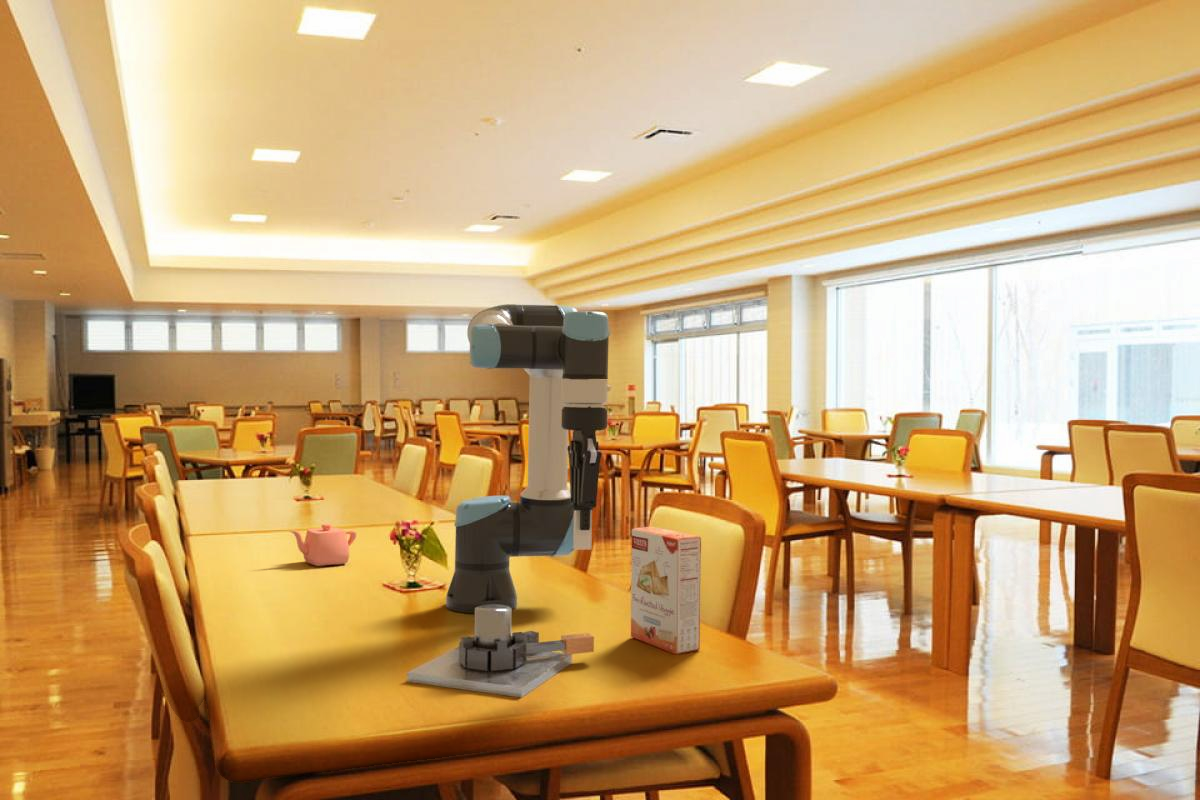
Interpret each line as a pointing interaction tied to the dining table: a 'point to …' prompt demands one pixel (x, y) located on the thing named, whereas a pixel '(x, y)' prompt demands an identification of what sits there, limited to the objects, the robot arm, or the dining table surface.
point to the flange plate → (510, 682)
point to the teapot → (325, 545)
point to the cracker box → (666, 589)
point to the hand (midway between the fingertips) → (582, 548)
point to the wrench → (518, 650)
